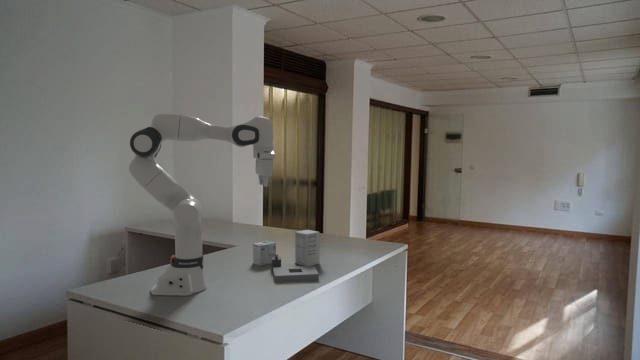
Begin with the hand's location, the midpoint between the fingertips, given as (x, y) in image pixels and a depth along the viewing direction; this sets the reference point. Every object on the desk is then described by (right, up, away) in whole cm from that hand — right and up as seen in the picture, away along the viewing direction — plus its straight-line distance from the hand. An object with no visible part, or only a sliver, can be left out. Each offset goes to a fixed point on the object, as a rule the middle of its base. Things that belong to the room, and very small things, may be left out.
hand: (263, 185), depth 195 cm
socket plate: (+13, -43, +14) cm, 47 cm away
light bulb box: (-4, -41, +37) cm, 55 cm away
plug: (+3, -42, +24) cm, 49 cm away
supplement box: (+18, -41, +37) cm, 58 cm away
